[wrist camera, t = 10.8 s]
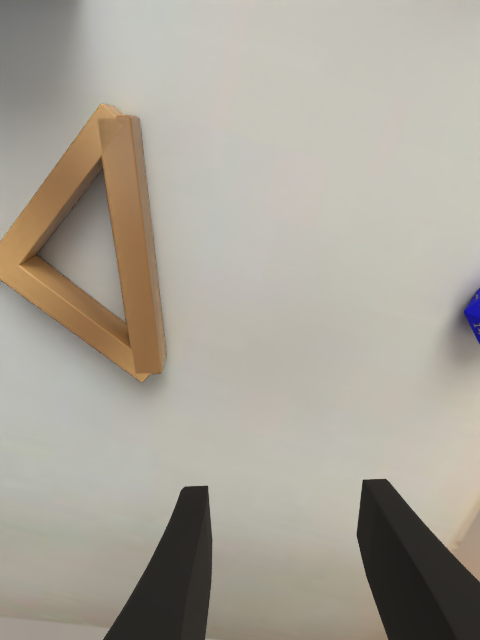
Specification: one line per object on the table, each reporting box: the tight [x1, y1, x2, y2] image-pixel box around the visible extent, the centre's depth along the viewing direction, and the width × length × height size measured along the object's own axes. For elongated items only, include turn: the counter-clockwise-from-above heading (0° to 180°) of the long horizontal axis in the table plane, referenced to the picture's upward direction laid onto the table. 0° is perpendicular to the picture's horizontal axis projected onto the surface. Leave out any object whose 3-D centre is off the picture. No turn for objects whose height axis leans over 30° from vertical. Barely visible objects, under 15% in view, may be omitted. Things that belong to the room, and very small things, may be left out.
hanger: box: [0, 103, 167, 382], centre depth 17 cm, size 8×11×2 cm
